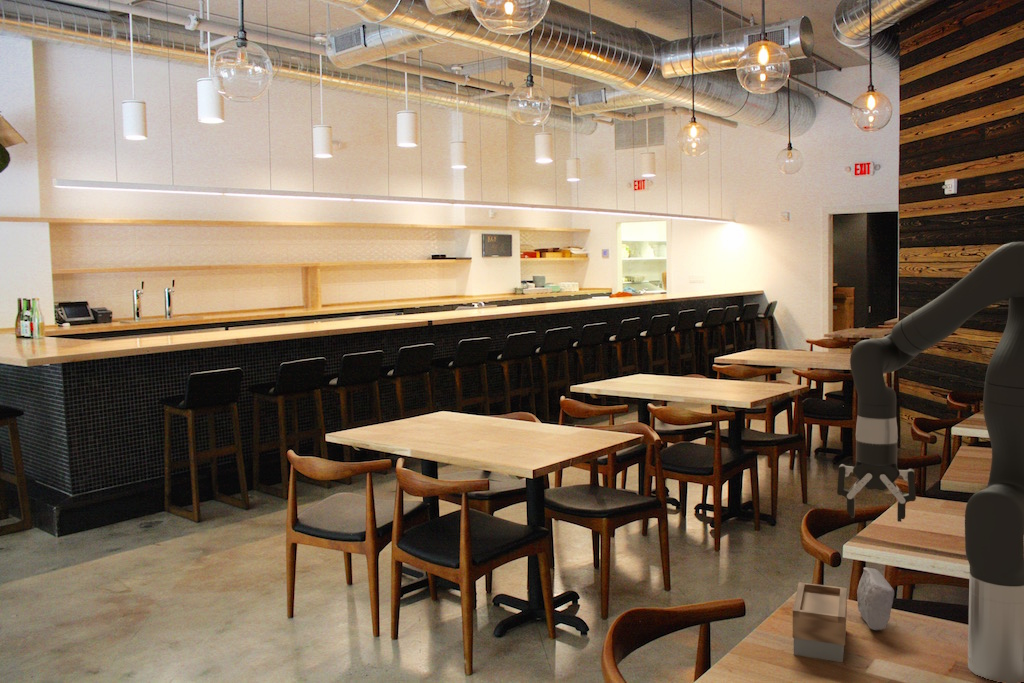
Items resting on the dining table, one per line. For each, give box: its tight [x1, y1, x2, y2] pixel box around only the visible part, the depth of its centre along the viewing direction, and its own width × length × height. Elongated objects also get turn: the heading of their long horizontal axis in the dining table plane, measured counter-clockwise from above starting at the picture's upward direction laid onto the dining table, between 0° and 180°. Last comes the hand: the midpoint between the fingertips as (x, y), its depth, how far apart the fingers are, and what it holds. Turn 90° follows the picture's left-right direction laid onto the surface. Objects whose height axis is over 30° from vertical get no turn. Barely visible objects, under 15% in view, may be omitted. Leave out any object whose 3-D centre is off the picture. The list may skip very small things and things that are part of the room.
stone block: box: [856, 566, 895, 631], centre depth 163 cm, size 12×5×10 cm, turn 168°
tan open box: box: [792, 581, 848, 646], centre depth 155 cm, size 9×15×5 cm, turn 156°
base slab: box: [793, 638, 845, 663], centre depth 155 cm, size 8×15×4 cm, turn 156°
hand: (875, 518), depth 162 cm, fingers open, 8 cm apart
